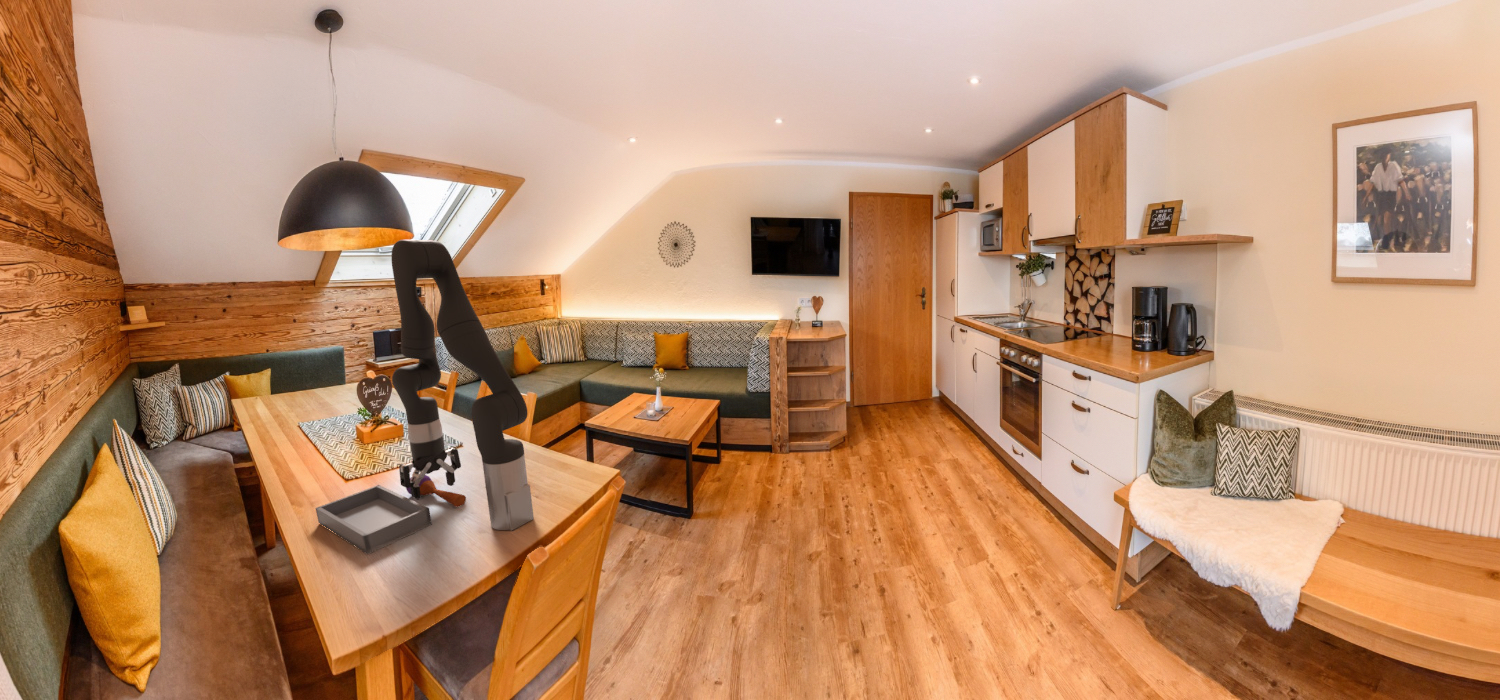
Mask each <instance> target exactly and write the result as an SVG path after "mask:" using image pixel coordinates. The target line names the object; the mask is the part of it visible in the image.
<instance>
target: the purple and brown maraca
mask: <svg viewBox="0 0 1500 700" xmlns="http://www.w3.org/2000/svg"><path fill="white" fill-rule="evenodd" d="M411 478H412V476H410V480H411ZM434 482H435V481H433V480H432V479H431V477H430V476H429V475H428V474H425V476H424V478H423V479H421V481H420V483H419V485H418V486H419V487H420V493H421V496H429V495H433V494H434V495H436V496H438V497H439V498H441V499H443V500H444V501H446V502H447V503H449V504H450V505H452V506H453V507H456V508H459V507H461V506H463V505H464V504H465V503H466V500H467V497H466V495H464V494H461V493H456V492H452V491H447V490H441V489H437V487H436V484H435V483H434ZM405 489H406V492H407V493H408V494H409V495H411V489H410V487H409V488H406V487H405Z"/></svg>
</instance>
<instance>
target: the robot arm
mask: <svg viewBox="0 0 1500 700" xmlns="http://www.w3.org/2000/svg"><path fill="white" fill-rule="evenodd" d="M391 268H392V274H393V279H394V285H395V286H394V287H395V293H396V297H397V303H398V308H399V314H400V351H401V355H402V356H404V357H405V358H407V359H413V360H418V363H415V364H414V363H413V364H409V365H405V366H400V367H399V368H397V369H395V370H394V371H393V373H392V377H391V383H392V385H393V387H394V389H395V392H396V394H397V395H398V396H399V399H400V400H401V401H400V402H401V403H402V404H403V405H402V406H403V407H404V409H405V413H406V420H407V434H408V435H407V436H408V440H409V446H410V447H409V448H410V452H411V458H412V460H411V462H410V463H406V464H404V463H403V464H402V463H400V464H399V466H398V469H399V471H398V472H399V481H400V486H402V487H404V488H405V489H406V488H409V487H410V489H411V494H410V496H411V497H412V498H414V499H416V500H420V499H422V495H421V493H420V487H419V486H418V485H419V483H420V481H421V479H423V478H424V476H425V475H428V474H432V473H433V472H437V471H439V470H440V469H441V468H442V470H445V471H446V472H445V478H446V484H447V486H450V487H452V486H454V485H455V483H456V477H455V472H456V470H458V469H460V468H461V467H462V464H461V459H460V454H459V451H458V449H457V448H455V447H452V446H450V447H448V449H447V450H446V449H445V448H446V446H445V440H444V433H443V426H442V422H441V419H440V414H439V408H438V402H437V400H436V399H435V398H434V397H431V396H421V397H420V395H419V394H418V392H419V391H423V390H426V389H431V388H434V387H436V386H437V385H438V384H439V382H440V381H441V378H442V371H441V368H440V366H439V362H438V359H437V355H436V351H435V337H436V336H435V330H436V329H437V330H436V331H437V333H438V335H439V337H440V339H441V341H442V344H443V345H444V347H445V349H446V350H447V352H448V354H449V355H450V356H451V357H452V358H453V359H454V360H455V361H457V362H458V363H459V364H461V365H462V366H464V367H465V368H466V369H469V370H470V371H472V372H473V373H475V374H476V375H477V376H478V377H480V378H481V380H483V382H484V383H485V384H486V385H487V386H488V389H489V390H490V391H491V394H488V395H484V396H482V397H479V398H477V399H476V400H474V402H473V403H472V405H471V411H470V412H471V413H470V415H471V422H472V427H473V430H474V431H473V432H474V435H475V441H476V445H477V449H478V450H479V454H480V456H481V462H482V469H483V476H484V478H483V479H484V484H485V491H486V492H485V493H486V497H487V498H486V499H487V500H486V501H487V507H488V511H489V513H488V514H489V521H490V527H491V528H493V529H494V530H497V531H506V530H507V531H508V530H509V531H514V530H516V529H518V528H520V527H521V526H524V525H525V524H527V523H528V522H530V521H533V520H534V519H535V518H534V516H535V515H534V510H533V501H532V493H531V491H532V490H531V485H530V484H529V482H528V474H527V465H526V458H525V447H524V444H523V442H522V441H520V440H518V439H515V438H514V439H513V438H505V435H504V431H506V430H509V429H511V428H514V427H516V426H519V425H521V424H523V423H524V422H525V421H526V420H527V417H528V407H527V404H526V401H525V399H524V397H523V395H522V394H521V393H522V392H521V391H520V390H519V387H517V385H516V384H515V383H514V380H513V379H512V378H511V376H510V375H509V373H508V372H507V370H506V368H505V366H504V365H503V364H502V362H501V360H500V358H499V357H498V356H499V355H497V353H496V351H495V349H494V347H493V345H492V343H491V341H490V338H489V336H488V334H487V331H486V330H485V328H484V326H483V325H482V324H483V323H482V322H481V321H480V319H479V317H478V315H477V313H476V312H475V310H474V308H473V306H472V303H471V301H470V299H469V297H468V296H467V295H468V294H467V293H466V291H465V289H464V286H463V284H462V281H461V279H460V277H459V273H458V271H457V268H456V266H455V263H454V260H453V258H452V256H451V254H450V252H449V250H448V248H447V247H446V246H445V245H444V244H443V243H442V242H440V241H438V240H429V239H428V240H427V239H400V240H398V241H396V242H395V243H394V244H393V246H392V249H391ZM418 279H433V281H434V282H435V284H436V286H437V289H438V290H439V293H440V306H439V310H438V315H437V320H436V329H435V323H434V321H433V318H432V316H431V315H430V313H429V312H428V310H427V308H425V306H424V304H423V303H422V301H421V300H420V297H419V295H418V290H417V280H418ZM448 457H449V458H450V462H451V465H450V464H448V463H447V462H445V461H446V460H447V458H448ZM413 468H414V470H413V472H412V469H413ZM410 472H412V475H411V474H410ZM410 475H411V476H410ZM411 477H412V478H411ZM410 478H411V480H410Z"/></svg>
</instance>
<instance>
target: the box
mask: <svg viewBox="0 0 1500 700" xmlns="http://www.w3.org/2000/svg"><path fill="white" fill-rule="evenodd" d="M315 511H316V516H317V517H316V518H317V521H318V524H319V523H320V524H321V525H323V526H325V527H326V528H328V529H330V530H331V531H333V532H334V533H336V534H337V535H339V536H340V537H342V538H343V539H342V538H341V539H342V540H344V539H345V540H347V541H348V542H350V543H351V544H350V543H349V544H350V545H352V544H353V545H355V546H356V547H357V548H356V547H355V546H354V547H355V548H356V549H358V548H359V549H358V550H360V551H361V550H362V551H361V552H363V553H365V554H366V555H369V554H372V553H374V552H376V551H378V550H380V549H382V548H385V547H386V546H389V545H391V544H393V543H395V542H397V541H399V540H401V539H404V538H405V537H407V536H409V535H413V534H414V533H416V532H419V531H420V530H421V531H422V530H423V529H424V528H425V529H426V528H427V527H430V526H431V525H432V517H431V511H430V507H427V506H426V505H424V504H421V503H419V502H417V501H415V500H413V499H410V498H408V497H406V496H404V495H402V494H399V493H397V492H395V491H393V490H391V489H389V488H387V487H385V486H382V485H380V484H377V485H374V486H372V487H369V488H367V489H364V490H361V491H359V492H356V493H353V494H350V495H347V496H344V497H342V498H339V499H336V500H333V501H331V502H328V503H325V504H322V505H320V506H317V507H315ZM321 525H320V526H321ZM323 526H322V527H323ZM326 528H325V529H326ZM331 531H330V532H331ZM334 533H333V534H334ZM337 535H336V536H337ZM339 536H338V537H339ZM340 537H339V538H340ZM345 540H344V541H345ZM347 541H346V542H347ZM348 542H347V543H348ZM353 545H352V546H353ZM375 550H376V551H375ZM373 551H374V552H373Z"/></svg>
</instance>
